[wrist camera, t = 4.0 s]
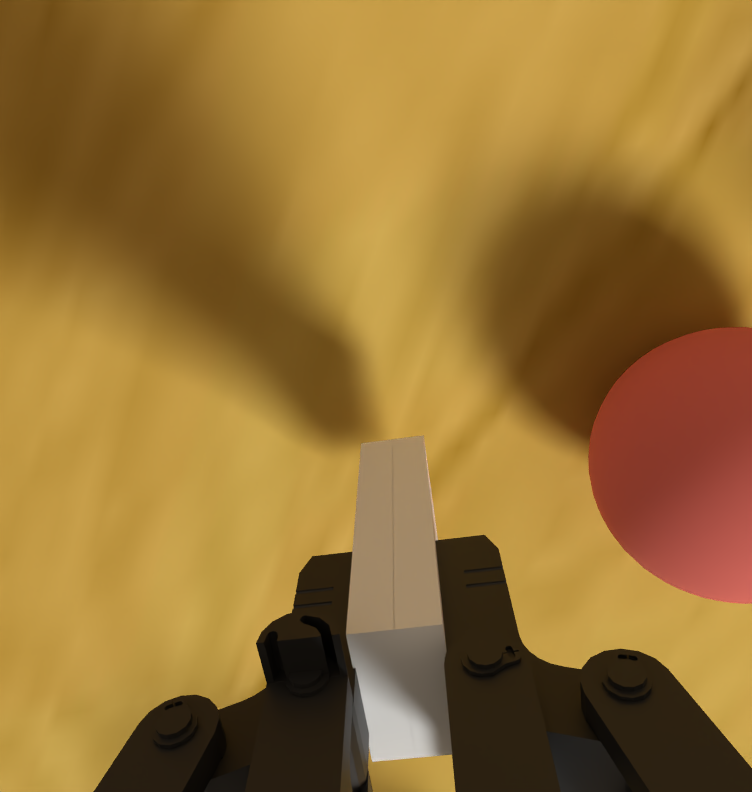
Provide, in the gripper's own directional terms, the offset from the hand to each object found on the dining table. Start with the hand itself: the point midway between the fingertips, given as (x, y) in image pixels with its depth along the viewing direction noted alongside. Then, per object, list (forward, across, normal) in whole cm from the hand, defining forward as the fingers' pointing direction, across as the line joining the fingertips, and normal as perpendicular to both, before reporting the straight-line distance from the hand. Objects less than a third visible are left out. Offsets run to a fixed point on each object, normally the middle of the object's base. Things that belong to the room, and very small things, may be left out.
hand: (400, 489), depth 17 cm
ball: (-1, -7, 0) cm, 7 cm away
